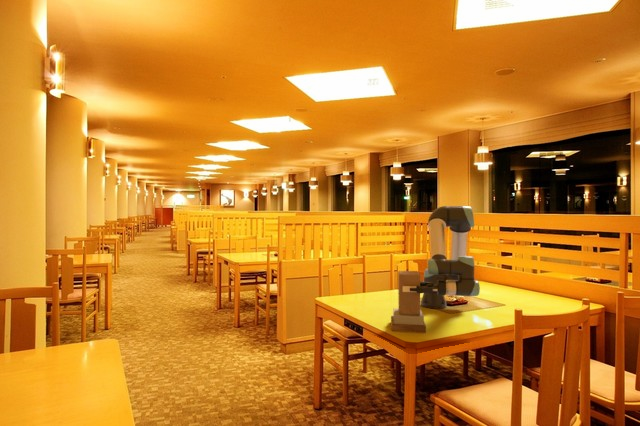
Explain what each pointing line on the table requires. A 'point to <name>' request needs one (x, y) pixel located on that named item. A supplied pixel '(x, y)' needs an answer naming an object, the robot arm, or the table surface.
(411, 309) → the wooden block
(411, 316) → the grey slab
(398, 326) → the walnut slab
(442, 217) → the robot arm
